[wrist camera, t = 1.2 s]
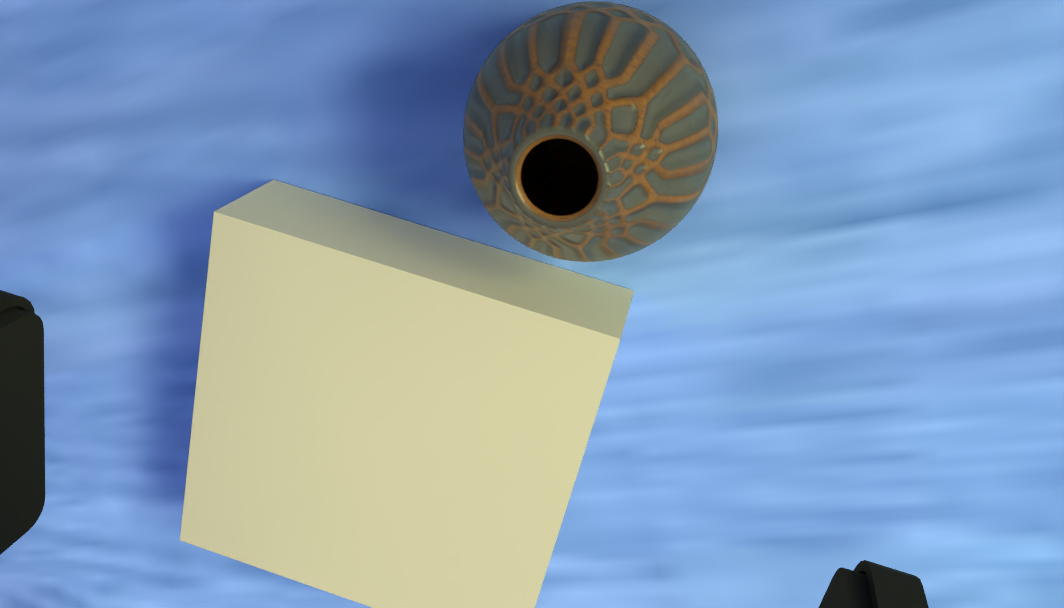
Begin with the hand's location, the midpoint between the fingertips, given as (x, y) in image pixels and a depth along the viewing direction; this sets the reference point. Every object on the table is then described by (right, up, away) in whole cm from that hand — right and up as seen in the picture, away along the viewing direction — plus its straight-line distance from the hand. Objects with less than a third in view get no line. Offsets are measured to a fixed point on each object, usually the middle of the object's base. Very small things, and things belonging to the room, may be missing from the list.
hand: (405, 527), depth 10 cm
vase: (+4, +9, +18) cm, 21 cm away
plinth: (-3, -1, +24) cm, 24 cm away
